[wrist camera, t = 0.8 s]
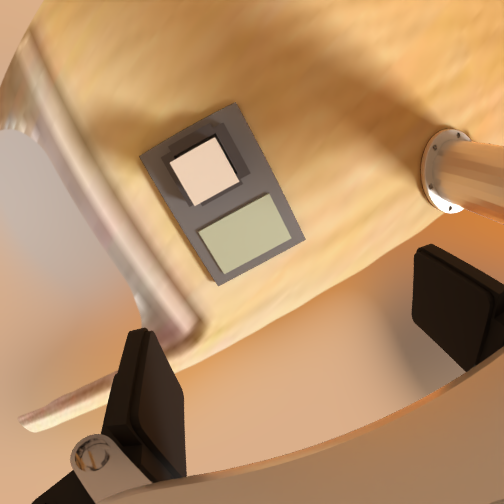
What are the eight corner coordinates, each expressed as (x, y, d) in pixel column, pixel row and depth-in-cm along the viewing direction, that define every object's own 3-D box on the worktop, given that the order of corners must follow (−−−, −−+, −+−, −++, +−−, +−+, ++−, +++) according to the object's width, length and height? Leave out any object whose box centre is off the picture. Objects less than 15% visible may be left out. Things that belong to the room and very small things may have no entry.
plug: (213, 138, 32) (215, 137, 22) (230, 170, 33) (239, 181, 24) (181, 156, 32) (169, 162, 23) (198, 187, 33) (194, 206, 24)
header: (234, 103, 32) (237, 99, 28) (303, 237, 38) (311, 246, 35) (141, 155, 32) (133, 157, 29) (218, 282, 39) (219, 295, 35)
